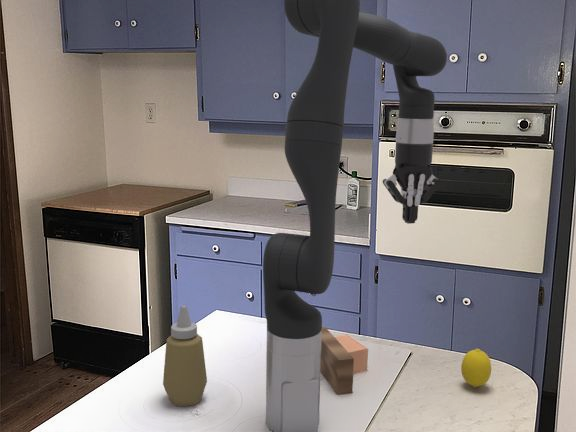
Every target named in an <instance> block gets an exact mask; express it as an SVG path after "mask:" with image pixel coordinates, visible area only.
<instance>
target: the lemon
mask: <svg viewBox="0 0 576 432" xmlns="http://www.w3.org/2000/svg"><path fill="white" fill-rule="evenodd" d="M491 362H492V361H491V359H490V357H489V355H488V354H487V353H486V352H484V351H482V350H481V349H479V348H475V349H472V350H470V351H467V353H466V354H465V355H464V357H463V359H462V362H461V365H460V367H461V375H462V378H463V379H464V380H465V382H466V383H468V384H469V385H471V386H472V388H478V387H481V386H483V385H485V384H486V383H488V381H489V380H490V378H491V374H492V363H491Z"/></svg>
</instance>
